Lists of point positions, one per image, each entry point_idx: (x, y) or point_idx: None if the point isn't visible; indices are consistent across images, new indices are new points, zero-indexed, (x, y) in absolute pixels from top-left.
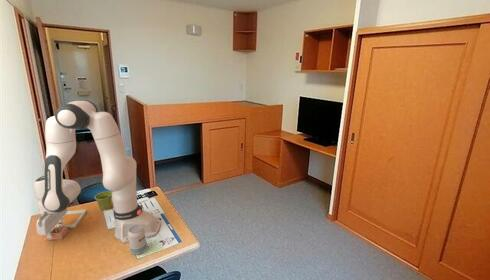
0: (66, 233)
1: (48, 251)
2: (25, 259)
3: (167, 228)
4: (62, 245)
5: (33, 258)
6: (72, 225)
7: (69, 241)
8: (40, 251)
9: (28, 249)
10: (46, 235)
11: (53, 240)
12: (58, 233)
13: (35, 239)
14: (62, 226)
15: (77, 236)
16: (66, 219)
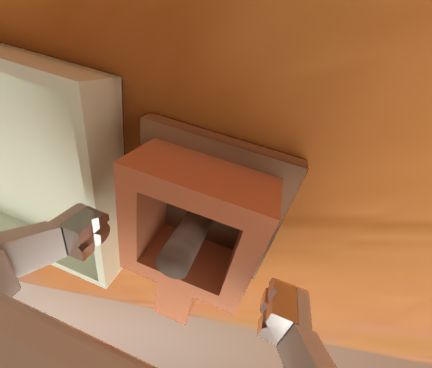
0: (198, 149)
1: (406, 257)
2: (394, 348)
3: None
4: (391, 161)
5: (427, 325)
6: (88, 106)
7: (353, 97)
8: (354, 292)
9: None
10: (235, 309)
11: (273, 238)
12: (261, 241)
13: None
14: (122, 207)
15: (286, 8)
16: None
